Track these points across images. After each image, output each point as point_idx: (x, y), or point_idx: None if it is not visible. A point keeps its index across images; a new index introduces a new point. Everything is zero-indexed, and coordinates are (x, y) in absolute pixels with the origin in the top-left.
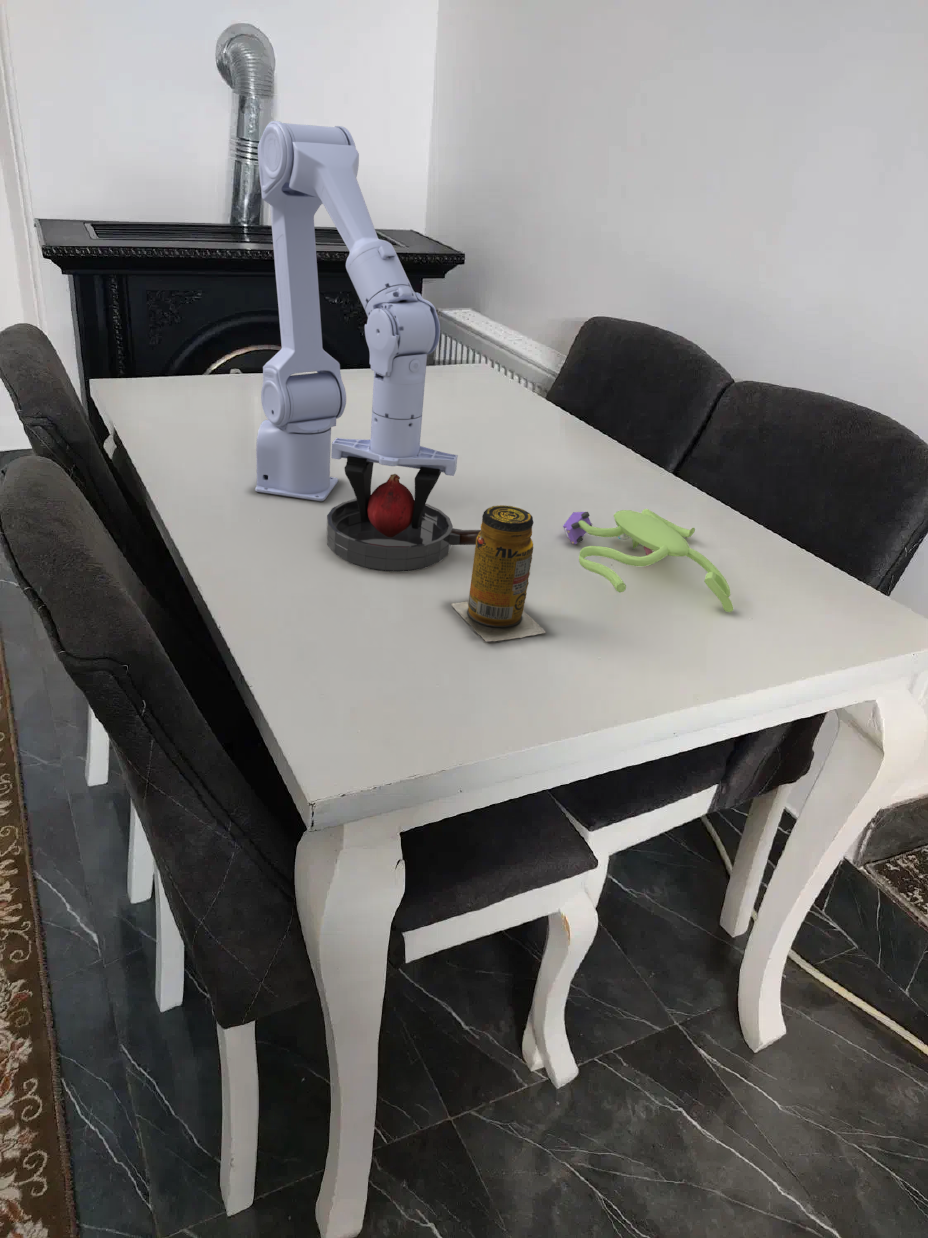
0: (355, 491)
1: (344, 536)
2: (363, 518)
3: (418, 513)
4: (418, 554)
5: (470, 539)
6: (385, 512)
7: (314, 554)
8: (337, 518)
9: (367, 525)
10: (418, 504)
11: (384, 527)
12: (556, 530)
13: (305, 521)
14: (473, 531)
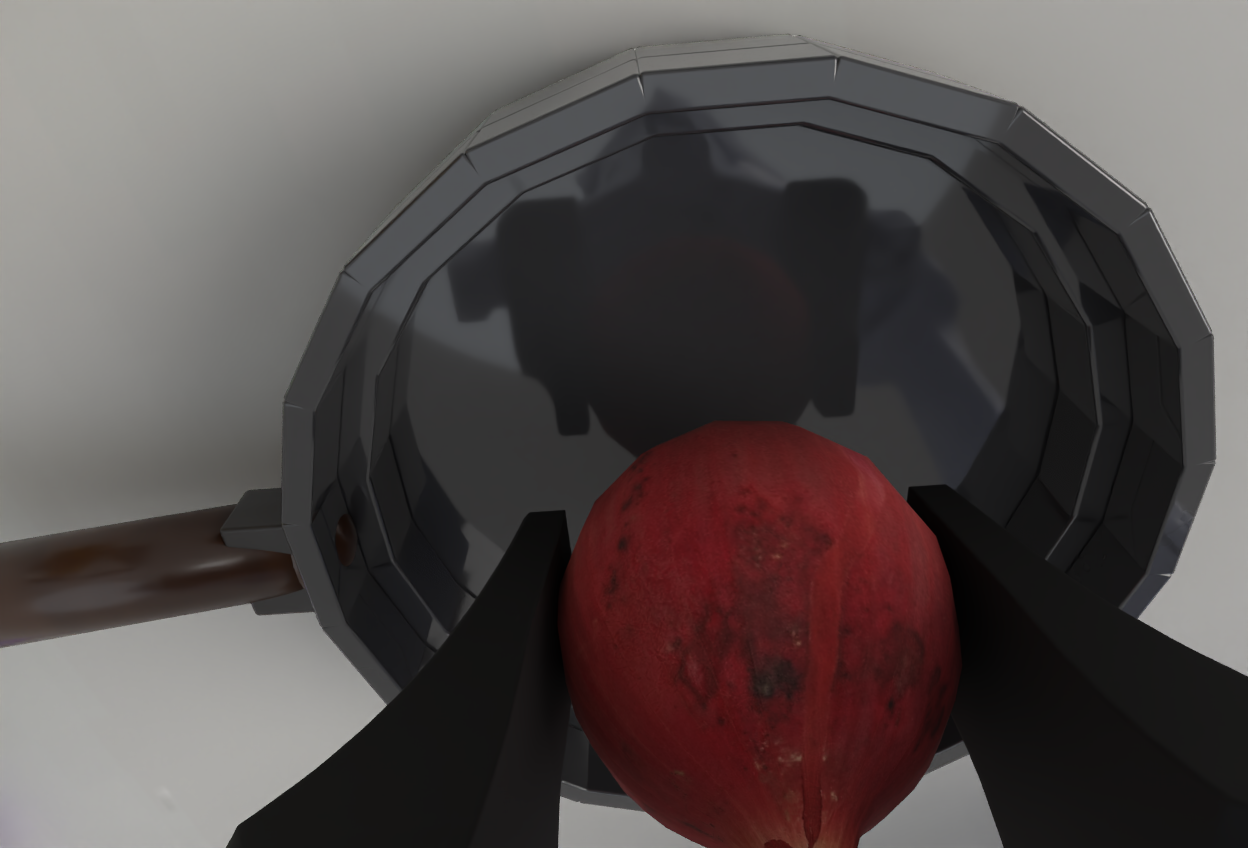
0: (1141, 630)
1: (1063, 141)
2: (937, 493)
3: (498, 585)
4: (402, 204)
5: (153, 530)
6: (771, 494)
7: (1178, 149)
8: (1090, 538)
9: None
10: (486, 641)
11: (751, 422)
12: (47, 840)
13: (1233, 537)
14: (130, 589)
